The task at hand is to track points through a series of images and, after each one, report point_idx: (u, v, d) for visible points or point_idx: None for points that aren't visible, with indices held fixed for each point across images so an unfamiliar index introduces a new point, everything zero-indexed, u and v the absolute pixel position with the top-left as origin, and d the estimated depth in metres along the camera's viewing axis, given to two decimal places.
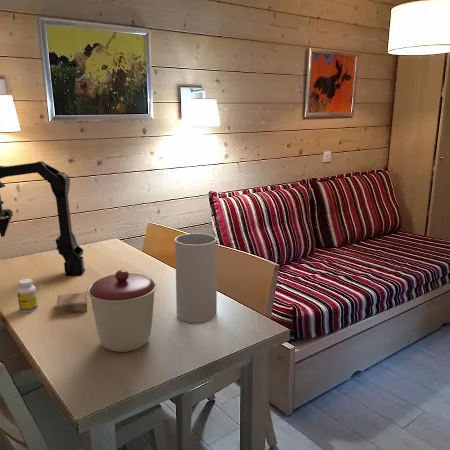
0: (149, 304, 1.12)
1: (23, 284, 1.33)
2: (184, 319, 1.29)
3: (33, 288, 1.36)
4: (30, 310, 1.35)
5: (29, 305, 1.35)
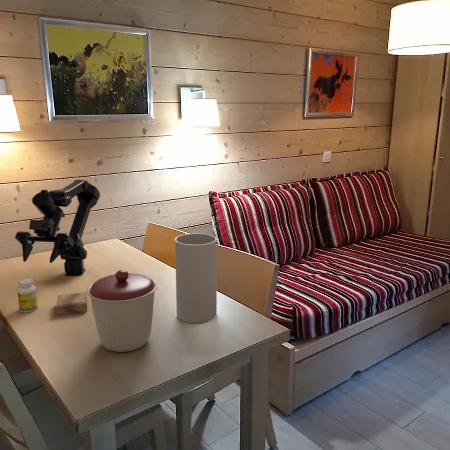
0: (149, 304, 1.12)
1: (23, 284, 1.33)
2: (184, 319, 1.29)
3: (33, 288, 1.36)
4: (30, 310, 1.35)
5: (29, 305, 1.35)
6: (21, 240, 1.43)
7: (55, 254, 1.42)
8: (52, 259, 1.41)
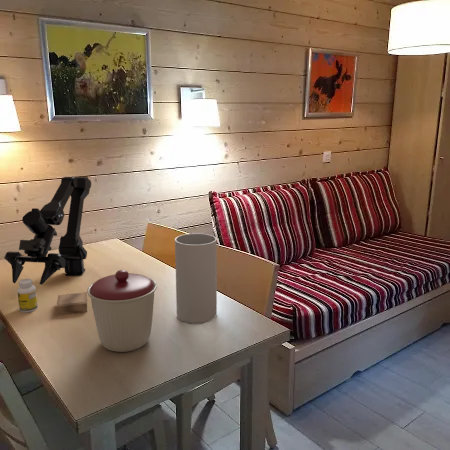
0: (149, 304, 1.12)
1: (23, 284, 1.33)
2: (184, 319, 1.29)
3: (33, 288, 1.36)
4: (30, 310, 1.35)
5: (29, 305, 1.35)
6: (11, 261, 1.38)
7: (46, 275, 1.37)
8: (43, 281, 1.36)
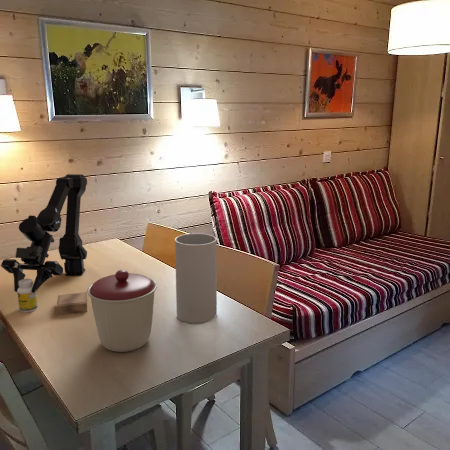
0: (149, 304, 1.12)
1: (23, 284, 1.33)
2: (184, 319, 1.29)
3: None
4: (30, 310, 1.35)
5: (29, 305, 1.35)
6: (12, 269, 1.36)
7: (38, 283, 1.35)
8: (34, 289, 1.35)
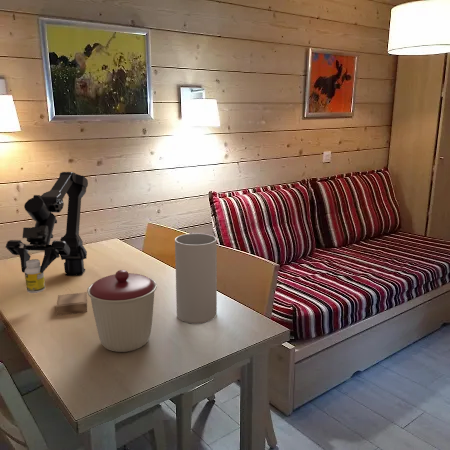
0: (149, 304, 1.12)
1: (31, 264, 1.32)
2: (184, 319, 1.29)
3: None
4: (38, 291, 1.34)
5: (38, 285, 1.33)
6: (18, 249, 1.34)
7: (46, 263, 1.34)
8: (43, 269, 1.33)
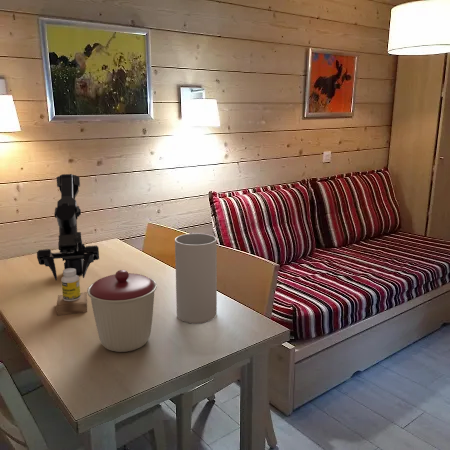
0: (149, 304, 1.12)
1: (70, 272, 1.34)
2: (184, 319, 1.29)
3: (77, 276, 1.37)
4: (77, 298, 1.37)
5: (77, 293, 1.36)
6: (48, 258, 1.34)
7: (86, 268, 1.38)
8: (84, 274, 1.37)
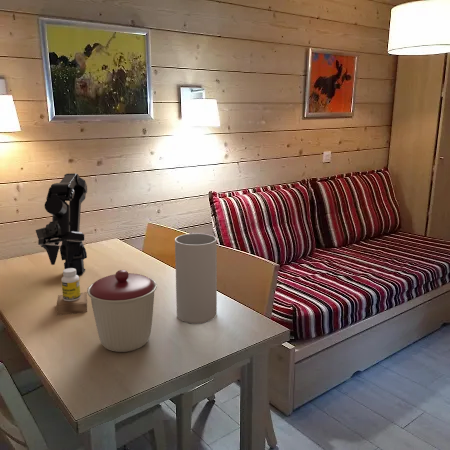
0: (149, 304, 1.12)
1: (71, 272, 1.34)
2: (184, 319, 1.29)
3: (78, 276, 1.37)
4: (77, 298, 1.37)
5: (77, 293, 1.36)
6: (43, 246, 1.49)
7: (70, 253, 1.44)
8: (69, 259, 1.44)
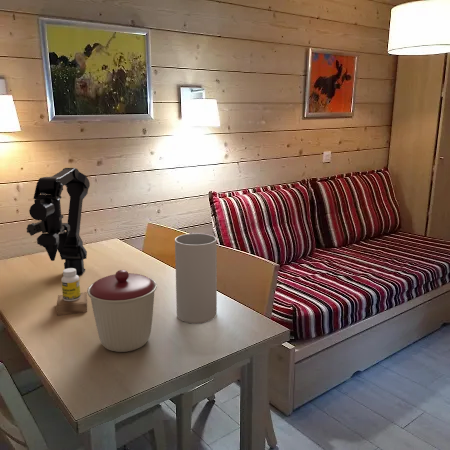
0: (149, 304, 1.12)
1: (71, 272, 1.34)
2: (184, 319, 1.29)
3: (78, 276, 1.37)
4: (77, 298, 1.37)
5: (77, 293, 1.36)
6: None
7: (50, 253, 1.46)
8: (51, 258, 1.47)
